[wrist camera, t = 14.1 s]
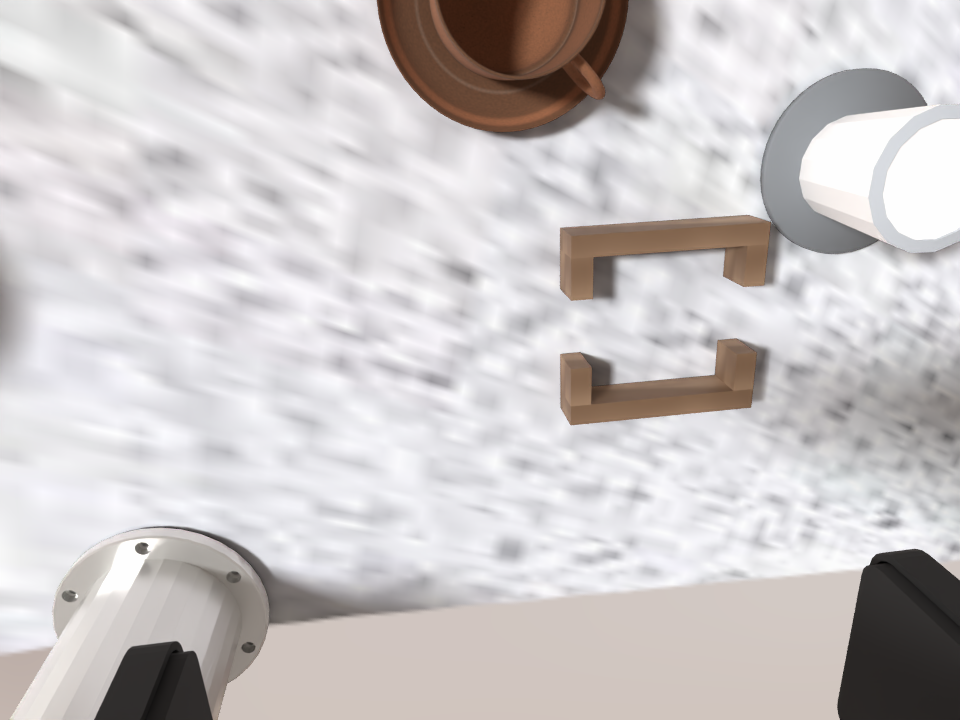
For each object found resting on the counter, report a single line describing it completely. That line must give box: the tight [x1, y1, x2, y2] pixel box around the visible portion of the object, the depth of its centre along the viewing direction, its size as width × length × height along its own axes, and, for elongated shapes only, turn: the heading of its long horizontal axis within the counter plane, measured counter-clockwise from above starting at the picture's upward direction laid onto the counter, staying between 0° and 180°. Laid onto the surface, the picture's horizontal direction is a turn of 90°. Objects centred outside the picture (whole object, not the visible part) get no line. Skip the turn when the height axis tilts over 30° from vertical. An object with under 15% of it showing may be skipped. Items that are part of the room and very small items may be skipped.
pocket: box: [560, 215, 771, 425], centre depth 40 cm, size 11×11×2 cm
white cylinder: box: [799, 104, 960, 253], centre depth 35 cm, size 7×7×7 cm
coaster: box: [760, 68, 927, 254], centre depth 39 cm, size 10×10×1 cm
